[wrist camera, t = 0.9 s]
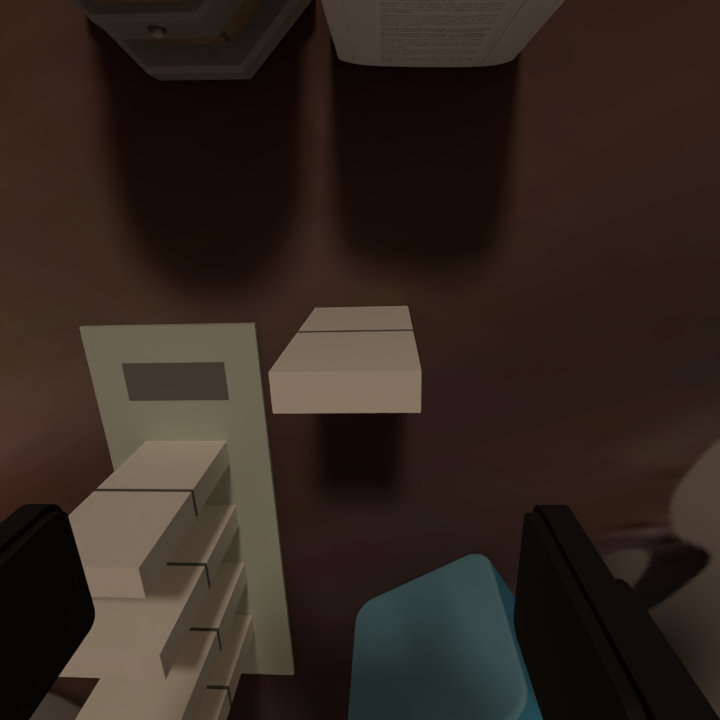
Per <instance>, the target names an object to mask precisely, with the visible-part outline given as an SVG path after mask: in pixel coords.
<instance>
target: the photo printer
mask: <svg viewBox="0 0 720 720" xmlns="http://www.w3.org/2000/svg"><path fill="white" fill-rule="evenodd" d="M564 1H565V0H321V2H322V5H323V9H324V12H325V16H326V20H327V23H328V27H329V30H330V33H331V37H332V40H333V42H334V45H335V49H336V52H337V55H338V58H339V59H340V60H342V61H345V62H349V63H353V64H359V65H369V66H385V67H389V66H394V67H481V66H492V65H498V64H502V63H507V62H510V61H512V60H513V59H514V58H515V57H516V56H517V55H518V54H519V52H520V51H521V50H522V49H523V48H524V47H525V45H526V44H527V43H528V42H529V41H530V40H531V39H532V37H533V36H534V35H535V34H536V33H537V31H538V30H539V29H540V28H541V27H542V26H543V25H544V24H545V22H546V21H547V20H548V19H549V18H550V17H551V16H552V14H553V13H554V12H555V11H556V10H557V9H558V8H559V7H560V5H561V4H562V3H563V2H564Z"/></svg>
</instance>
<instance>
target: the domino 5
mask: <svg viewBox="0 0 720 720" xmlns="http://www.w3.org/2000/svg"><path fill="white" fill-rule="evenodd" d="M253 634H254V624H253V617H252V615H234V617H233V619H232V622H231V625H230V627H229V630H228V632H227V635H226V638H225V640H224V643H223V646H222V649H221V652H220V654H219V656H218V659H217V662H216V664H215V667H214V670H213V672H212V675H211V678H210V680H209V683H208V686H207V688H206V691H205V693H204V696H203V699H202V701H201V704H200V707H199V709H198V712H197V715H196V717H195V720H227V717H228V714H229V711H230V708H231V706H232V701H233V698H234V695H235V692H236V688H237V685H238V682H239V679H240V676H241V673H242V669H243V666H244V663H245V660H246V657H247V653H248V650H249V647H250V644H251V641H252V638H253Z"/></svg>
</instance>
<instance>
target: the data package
mask: <svg viewBox="0 0 720 720" xmlns="http://www.w3.org/2000/svg"><path fill="white" fill-rule="evenodd" d="M514 606H515V597H514V595H513V594H512V592H511V591H510V589H509V588H508V586H507V585H506V584H505V582H504V581H503V579H502V578H501V576H500V575H499V573H498V572H497V571H496V569H495V568H494V566H493V565H492V563H491V562H490V560H489V559H488V558H487V557H485V556H484V555H481V554H469V555H467V556H464V557H462V558H460V559H458V560H456V561H453V562H451V563H449V564H447V565H445V566H442V567H440V568H438V569H436V570H434V571H432V572H429V573H427V574H425V575H423V576H421V577H418V578H416V579H414V580H412V581H410V582H407V583H405V584H403V585H401V586H399V587H397V588H394V589H392V590H390V591H388V592H386V593H383V594H381V595H379V596H377V597H375V598H373V599H371V600H369V601H368V602H367V603H365V604H364V606H363V607H362V608H361V609H360V611H359V613H358V615H357V618H356V622H355V634H354V647H353V660H352V673H351V686H350V699H349V712H348V720H543V718H542V715H541V712H540V709H539V706H538V703H537V700H536V697H535V693H534V690H533V687H532V684H531V681H530V678H529V675H528V672H527V669H526V666H525V662H524V659H523V656H522V653H521V650H520V647H519V644H518V641H517V637H516V634H515V629H514Z"/></svg>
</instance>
